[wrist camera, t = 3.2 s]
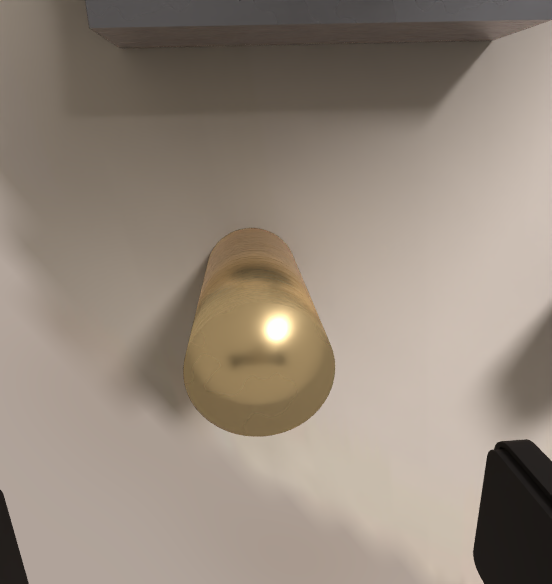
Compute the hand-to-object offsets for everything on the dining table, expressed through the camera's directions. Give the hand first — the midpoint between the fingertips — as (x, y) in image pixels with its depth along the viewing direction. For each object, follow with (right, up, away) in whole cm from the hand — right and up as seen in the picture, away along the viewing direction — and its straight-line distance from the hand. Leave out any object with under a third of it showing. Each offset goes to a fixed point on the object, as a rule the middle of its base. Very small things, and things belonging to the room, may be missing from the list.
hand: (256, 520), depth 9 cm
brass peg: (-1, +5, +14) cm, 15 cm away
